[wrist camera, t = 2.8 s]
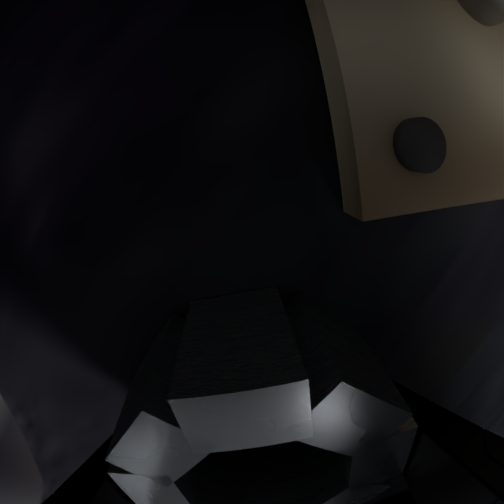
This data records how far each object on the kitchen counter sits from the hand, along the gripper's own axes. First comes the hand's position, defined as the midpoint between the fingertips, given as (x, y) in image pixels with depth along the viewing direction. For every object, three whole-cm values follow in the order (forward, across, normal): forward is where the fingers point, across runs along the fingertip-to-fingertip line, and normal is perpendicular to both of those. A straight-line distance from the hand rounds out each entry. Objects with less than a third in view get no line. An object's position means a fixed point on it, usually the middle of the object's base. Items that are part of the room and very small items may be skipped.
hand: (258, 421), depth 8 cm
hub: (+1, 0, 0) cm, 1 cm away
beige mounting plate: (+1, -8, -11) cm, 14 cm away
